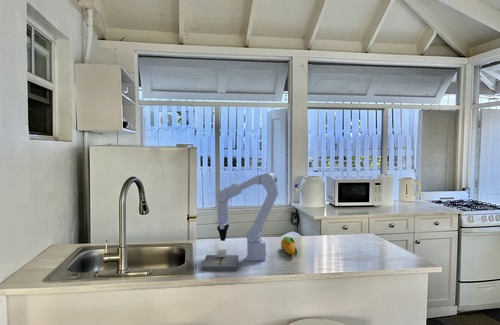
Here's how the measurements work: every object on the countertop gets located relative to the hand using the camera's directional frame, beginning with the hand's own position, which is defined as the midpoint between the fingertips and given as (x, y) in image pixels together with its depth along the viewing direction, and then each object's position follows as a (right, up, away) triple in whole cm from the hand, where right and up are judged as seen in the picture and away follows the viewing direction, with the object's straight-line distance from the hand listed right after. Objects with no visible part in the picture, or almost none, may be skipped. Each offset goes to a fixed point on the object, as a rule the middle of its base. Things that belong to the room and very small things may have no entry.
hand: (223, 239), depth 173 cm
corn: (+35, -8, +5) cm, 36 cm away
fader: (0, -6, -8) cm, 10 cm away
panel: (0, -9, -13) cm, 15 cm away
